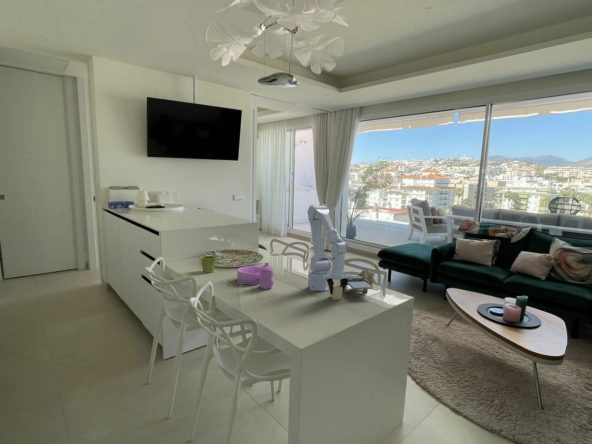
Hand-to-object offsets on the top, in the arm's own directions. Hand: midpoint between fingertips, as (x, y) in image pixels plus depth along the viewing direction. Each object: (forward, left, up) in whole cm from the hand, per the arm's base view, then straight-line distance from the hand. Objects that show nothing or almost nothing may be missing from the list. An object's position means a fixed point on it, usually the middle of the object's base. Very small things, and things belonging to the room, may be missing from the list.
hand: (336, 293), depth 158 cm
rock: (+23, +17, -2) cm, 29 cm away
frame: (+13, +8, -2) cm, 15 cm away
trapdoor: (+13, +4, +2) cm, 13 cm away
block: (0, 0, -2) cm, 2 cm away
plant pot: (-63, +49, -2) cm, 80 cm away
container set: (-37, +25, -3) cm, 45 cm away
